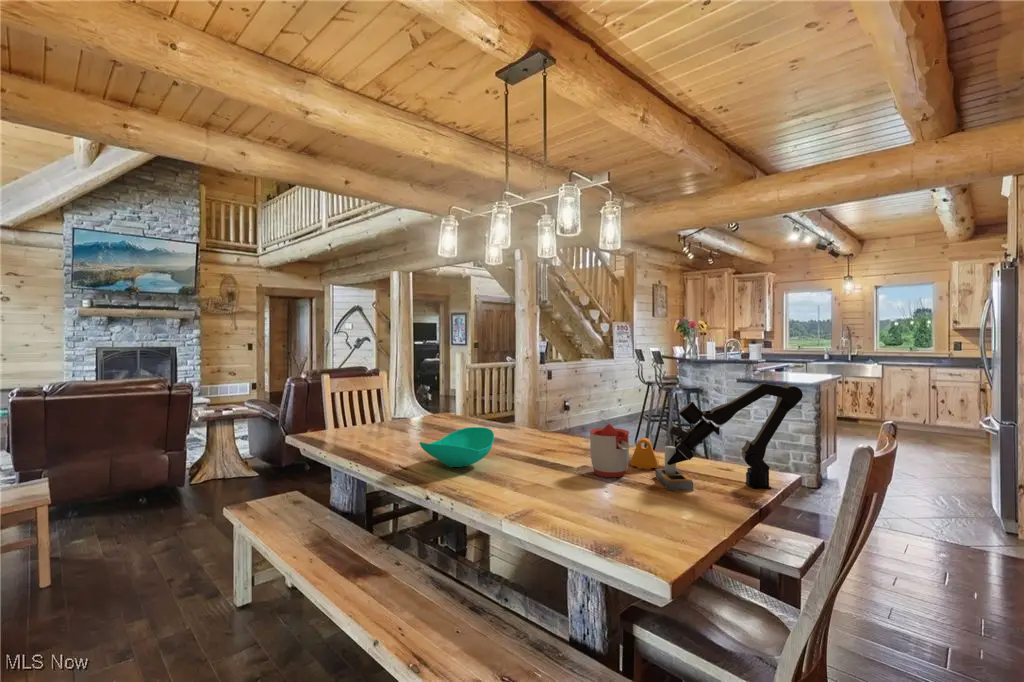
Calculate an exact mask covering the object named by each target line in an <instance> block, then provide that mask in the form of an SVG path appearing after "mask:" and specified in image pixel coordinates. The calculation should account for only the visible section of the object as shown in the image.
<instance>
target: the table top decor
mask: <svg viewBox="0 0 1024 682" xmlns="http://www.w3.org/2000/svg"><path fill="white" fill-rule="evenodd" d="M494 441H495V433H494V431H493V430H492V429H491V428H488V427H481V426H479V427H478V426H477V427H476V426H475V427H474V426H473V427H472V426H470V427H465V428H462V429H457V430H456V431H453V432H451V433H449V434H446V436H444V437H442V438H441V439H438V440H436V441H433V442H430V443H426V442H422V441H420V442H419V445H420V447H421V449H422V450H423V451H424V452H426V453H427V454H428V455H429V456H431V457H433V458H434V459H436V460H437V461H439V462H440V463H442V464H444V465H445V466H447V467H448V466H449V467H448V468H452V467H462V468H464V467H463V466H466V467H468V466H471V465H474V464H476V463H478V462H480V461H481V460H482V459H484V458H485V457H486V456H487V455H488V454H489V453H490V451H491V449H492V447H493V444H494Z"/></svg>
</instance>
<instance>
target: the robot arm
mask: <svg viewBox="0 0 1024 682" xmlns="http://www.w3.org/2000/svg"><path fill="white" fill-rule="evenodd" d="M767 395H768V396H772V397H776V401H775V405H774V407H773V409H772V411H770V413H769V415H768V417H767V419H765V422H764V423H763V425H762V427H761V429H760V430H759V431H758V433H757V435H756V436H755V438H754V439H753V440H751V441H749V440H748V439H747V440H746V441H745V443H744V446H743V447H741V457H742V459H743V461H744V462H745V463H746V464H747V465H748V467H747V468H746V469H747V472H745V485H747V486H748V485H749V486H748V487H750V488H751V489H754V490H755V489H756V490H761V489H762V490H763V489H764V490H771V489H773V488H772V486H770V468H771V467H770V466H769V464H768V463H767V462H765V460H764V458H765V456H766V455H765V454H766V451H767V446H768V445H769V443H770V441H771V440H772V438H773V437H774V434H775V433H776V432H777V430H778V428H779V427H780V425H781V423H782V421H783V420H784V418H785V417H786V415H787V414H788V412H789V411H791V410H792V409H794V408H795V407H796V406H797V405H798V404H799V402H800V401H801V400H802V399H803V397H804V395H803V391H802V390H801V388H799V387H798V386H794V385H792V384H784V385H776V384H770V383H766V382H761V383H758V385H757V386H755V387H753V388H752V389H749V390H748V391H747V392H745V393H743V394H741V395H740V396H738V397H736V398H734V399H733V400H731V401H729V402H727V403H724V404H720V405H718V406H715V407H712V408H711V410H701V409H700V408H699V407H698V406H696V404H695V403H694V402H693V401H690V403H688V404H687V405H685V406H682V408H681V409H680V410H679V411H678V415H679V416H681V418H682V419H683V420H684V421H685V422H687V424H689V425H694V426H693V427H692V428H688V429H687V430H686V429H685V428H683V426H682V427H681V426H679V425H676V424H674V423H672V425H671V427H670V428H669V431H668V432H669V434H670V435H674V436H676V437H675V438H674V445H673V447H675V453H674V454H673V456H672V457H671V458H670V459H669V461H668V462H667V464H668V465H672V464H675V463H676V464H678V463H681V462H682V463H683V462H686V461H690V460H692V459H693V458H694V451H695V449H696V448H697V447H698V446H699V445H702V444H703V443H704V441H705V440H706V439H707V438H708V437H710V435H712V433H715V434H716V435H717V436H720V428H721V427H720V426H722V425H725V424H727V423H728V421H730V420H731V419H732V418H733V417H734V416H735V415H736V414H737V413H738V412H740V411H741V410H744V409H745V408H746V407H749V406H750V405H751V404H753V403H755V402H757V401H758V400H760V399H762V398H763V397H765V396H767ZM716 425H719V426H716Z"/></svg>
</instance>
